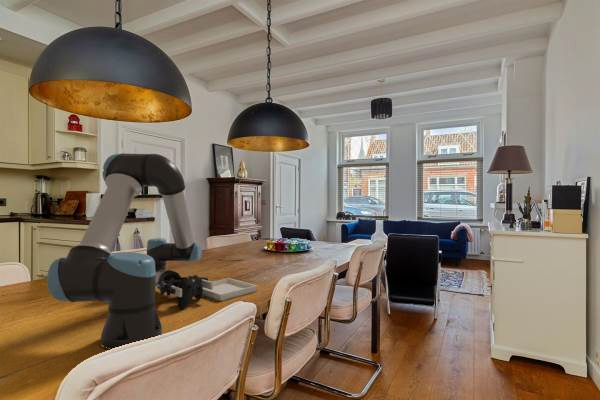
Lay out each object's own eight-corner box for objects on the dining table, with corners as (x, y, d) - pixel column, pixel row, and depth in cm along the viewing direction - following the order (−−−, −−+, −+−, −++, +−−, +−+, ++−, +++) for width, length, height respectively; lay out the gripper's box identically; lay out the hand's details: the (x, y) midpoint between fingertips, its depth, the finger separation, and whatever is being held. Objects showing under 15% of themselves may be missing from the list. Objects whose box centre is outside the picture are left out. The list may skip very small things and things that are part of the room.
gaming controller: (188, 311, 115) (188, 282, 115) (172, 309, 116) (173, 281, 116) (208, 298, 129) (208, 273, 129) (193, 297, 130) (193, 272, 130)
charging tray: (220, 301, 126) (220, 294, 126) (193, 291, 138) (193, 285, 138) (257, 291, 139) (257, 285, 139) (229, 283, 152) (229, 278, 152)
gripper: (194, 283, 143) (224, 292, 129) (137, 295, 125) (165, 307, 111) (194, 265, 143) (224, 273, 129) (137, 275, 125) (165, 285, 111)
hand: (197, 289), depth 120 cm, fingers closed on gaming controller, 12 cm apart
